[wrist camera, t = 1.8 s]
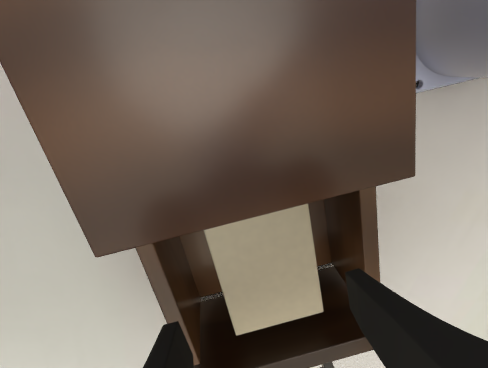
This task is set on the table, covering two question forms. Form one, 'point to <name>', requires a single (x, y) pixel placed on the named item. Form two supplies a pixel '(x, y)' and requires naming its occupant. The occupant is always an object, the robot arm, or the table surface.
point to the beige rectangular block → (267, 268)
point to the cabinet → (211, 106)
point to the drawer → (281, 335)
